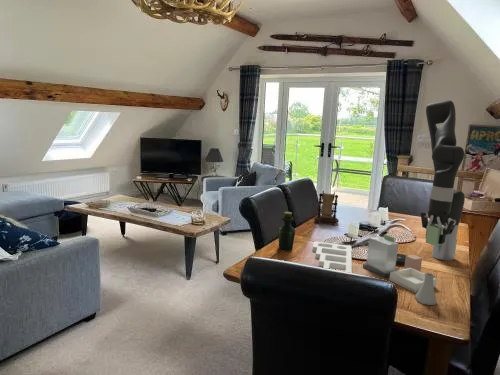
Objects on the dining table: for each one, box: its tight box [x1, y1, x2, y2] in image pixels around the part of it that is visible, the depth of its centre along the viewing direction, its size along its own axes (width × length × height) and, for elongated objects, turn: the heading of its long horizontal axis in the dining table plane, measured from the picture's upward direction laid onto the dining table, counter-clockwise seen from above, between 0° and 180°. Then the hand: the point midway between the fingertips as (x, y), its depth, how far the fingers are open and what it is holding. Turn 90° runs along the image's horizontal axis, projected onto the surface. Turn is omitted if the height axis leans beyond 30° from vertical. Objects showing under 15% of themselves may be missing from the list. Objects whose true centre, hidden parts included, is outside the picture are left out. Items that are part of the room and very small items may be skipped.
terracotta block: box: [403, 254, 423, 272], centre depth 159 cm, size 4×4×7 cm
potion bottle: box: [278, 211, 296, 252], centre depth 179 cm, size 8×8×18 cm
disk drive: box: [395, 253, 409, 267], centre depth 172 cm, size 10×3×15 cm
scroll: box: [313, 190, 339, 226], centre depth 231 cm, size 15×15×20 cm
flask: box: [414, 272, 438, 306], centre depth 133 cm, size 7×7×10 cm
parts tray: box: [389, 268, 438, 294], centre depth 148 cm, size 12×12×4 cm
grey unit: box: [362, 234, 400, 279], centre depth 159 cm, size 10×12×15 cm
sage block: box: [425, 225, 444, 246], centre depth 144 cm, size 4×4×7 cm
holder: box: [311, 241, 353, 273], centre depth 165 cm, size 45×18×3 cm, turn 165°
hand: (434, 241), depth 145 cm, fingers closed on sage block, 4 cm apart
